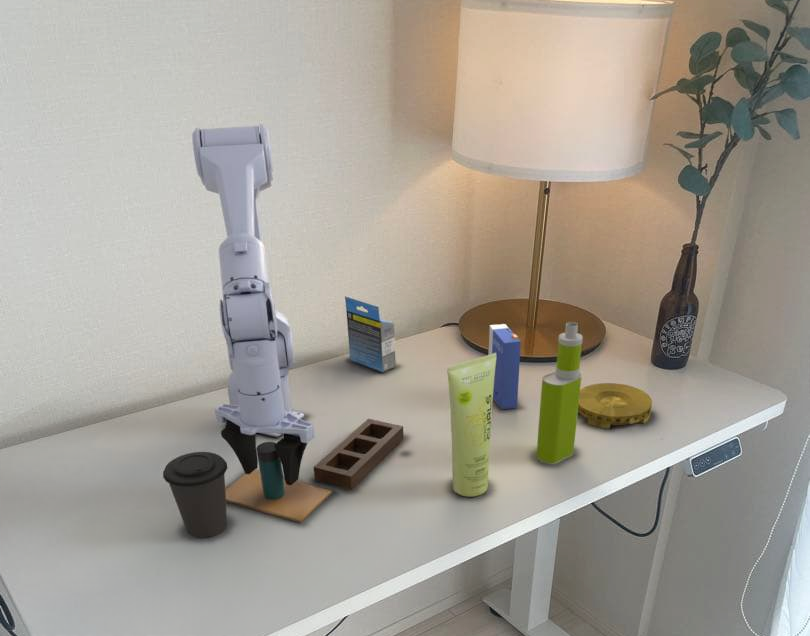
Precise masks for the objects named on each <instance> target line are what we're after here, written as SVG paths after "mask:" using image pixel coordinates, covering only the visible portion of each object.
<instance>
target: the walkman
mask: <svg viewBox="0 0 810 636" xmlns="http://www.w3.org/2000/svg"><path fill="white" fill-rule="evenodd" d="M488 335H489V336H488V355H491V354H493V353H496V366H495V376H494V388H493V401H494V402H495V403H496V404H497V405H498V407H499V408H500V410H509V409H516V408H518V400H519V399H518V398H519V396H518V395H519V381H520V380H519V378H520V365H521V364H520V362H521V347H522V341H521V339H519V337H518V335H517V334H516V333H514V332H513V330H511V328H510V327H508V326H507V324H506V323H502V324H501V323H500V324H490V325H489V334H488Z"/></svg>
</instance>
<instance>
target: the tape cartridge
mask: <svg viewBox="0 0 810 636" xmlns="http://www.w3.org/2000/svg"><path fill="white" fill-rule="evenodd" d="M344 301H345V311H346V322H347V324H346V325H347V337H348V348H349V349H348V350H349V360H350V362H354V363H357V364H359V365H362V366H365V367H366V368H367V367H368V368H370V369H372V370H375V371H378V372H380V373H385V372H387V371H389V370H392V369H394V368H395V367H396V366H397V365H396V364H397V360H396V359H397V358H396V337H395V336H396V335H395V334H396V333H395V323H394V322H392V321H388V320H386V319H382V318H380V309H379V306H376V305H373V304H370V303H367V302H364V301H362V300H358V299H354V298H351V297H349V296H346V295H345V296H344ZM361 307H362V308H363V309H364V310H366V311H364V310H360V309H358V308H361Z"/></svg>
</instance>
